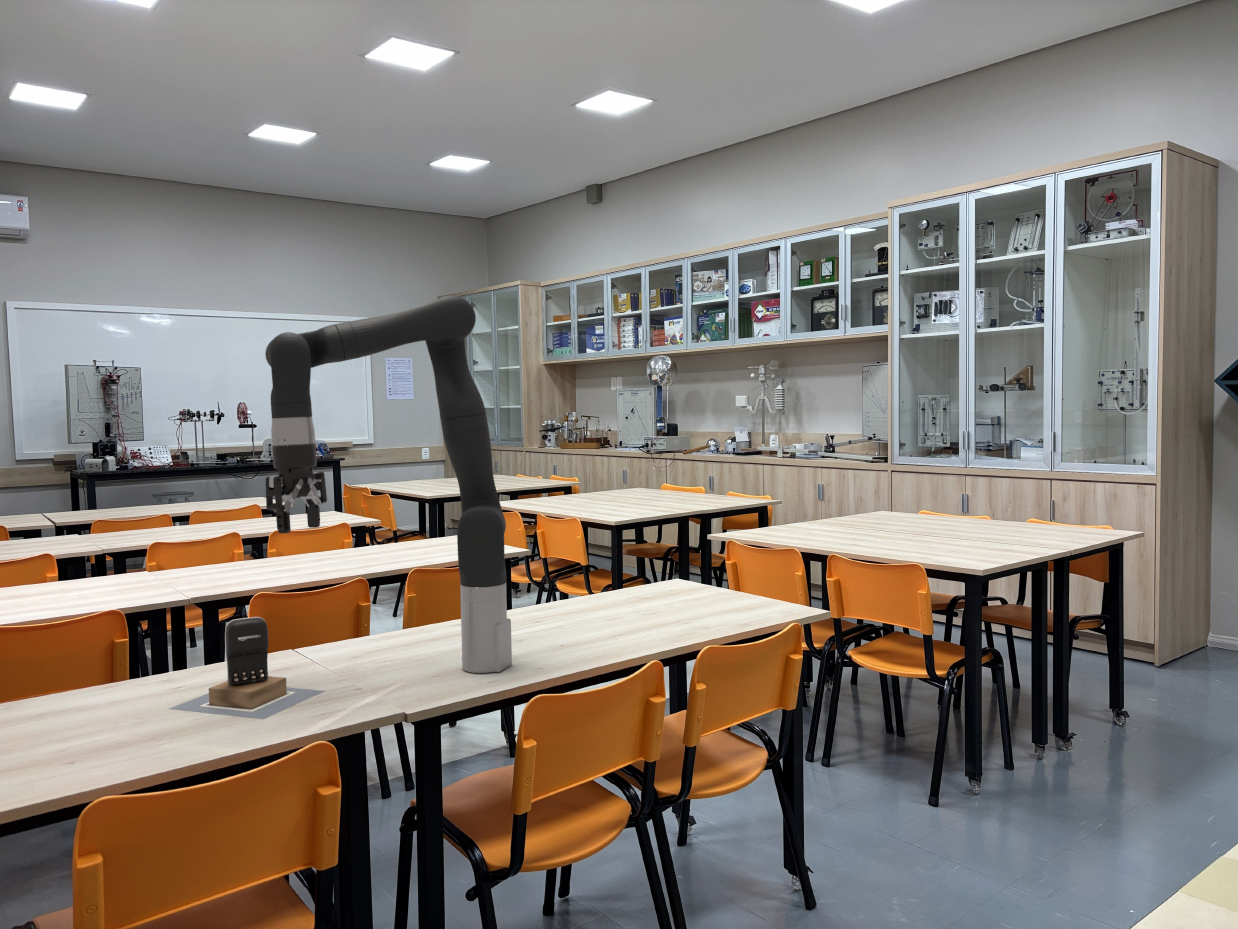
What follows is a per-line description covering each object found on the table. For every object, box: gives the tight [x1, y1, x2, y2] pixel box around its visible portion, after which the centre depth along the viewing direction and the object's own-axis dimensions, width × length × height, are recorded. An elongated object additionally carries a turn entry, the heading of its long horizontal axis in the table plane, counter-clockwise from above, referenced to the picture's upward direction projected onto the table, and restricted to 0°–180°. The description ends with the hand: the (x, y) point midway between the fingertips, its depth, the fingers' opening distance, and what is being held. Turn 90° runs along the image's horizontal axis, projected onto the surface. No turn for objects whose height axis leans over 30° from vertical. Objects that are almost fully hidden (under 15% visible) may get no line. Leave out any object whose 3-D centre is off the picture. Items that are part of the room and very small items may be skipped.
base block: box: [208, 675, 288, 709], centre depth 155 cm, size 9×9×3 cm
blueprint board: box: [168, 686, 325, 720], centre depth 155 cm, size 20×16×1 cm
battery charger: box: [224, 616, 270, 685], centre depth 154 cm, size 7×4×11 cm, turn 122°
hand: (299, 530), depth 161 cm, fingers open, 8 cm apart
